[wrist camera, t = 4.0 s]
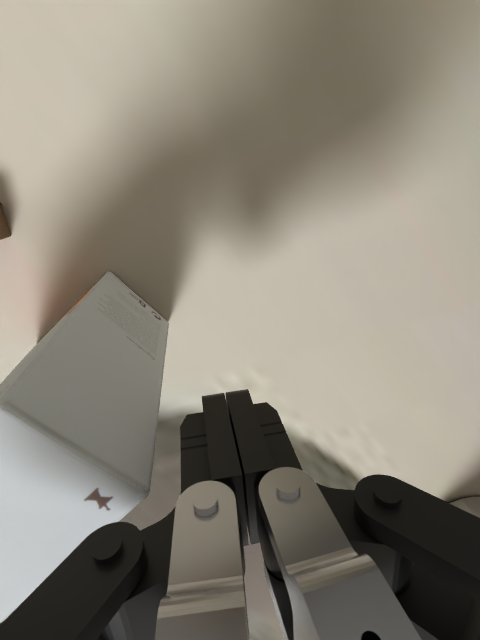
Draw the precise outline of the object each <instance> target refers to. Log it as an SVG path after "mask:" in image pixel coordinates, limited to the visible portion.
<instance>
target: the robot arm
mask: <svg viewBox="0 0 480 640" xmlns="http://www.w3.org/2000/svg"><path fill="white" fill-rule="evenodd" d="M202 403H203V412H202V413H195V414H189V415H187V416H186V417H185V419H184V421H183V423H182V424H181V426H180V435H181V495H180V497H179V498H178V500H177V503H176V506H175V508H174V509H173V510H172V512H171V513H169V514H168V515H167V516H166V517H165V518H163V519H162V520H160V521H159V522H157V523H155V524H153V525H151V526H149V527H147V528H145V529H143V530H141V531H140V530H139V529H138V528H137V527H136V526H134V525H133V524H130V523H127V522H114V523H110V524H107V525H104V526H102V527H100V528H98V529H97V530H95V531H94V532H92V533H91V534H90V535H89V536H87V537H86V538H85V539H84V540H83V541H82V542H81V543H80V544H79V545H78V546H77V547H76V548H75V549H74V550H73V551H72V552H71V553H70V555H69V556H68V557H67V558H66V559H65V560H64V561H63V562H62V563H61V564H60V565H59V566H58V567H57V568H56V569H55V570H54V571H53V572H52V573H51V574H50V575H49V576H48V577H47V578H46V579H45V580H44V581H43V582H42V583H41V584H40V585H39V586H38V587H37V588H36V589H35V590H34V591H33V592H32V593H31V594H30V595H29V596H28V597H27V598H26V599H25V600H24V601H23V602H22V603H21V604H20V605H19V606H18V607H17V608H16V609H15V610H14V611H13V612H12V613H11V614H10V615H9V616H8V617H7V618H6V619H5V620H4V621H3V622H2V623H1V624H0V640H250V639H249V628H248V617H247V606H246V595H245V585H244V575H245V558H244V548H243V546H246V545H248V534H247V527H248V532H249V537H250V542H251V544H255V543H260V545H261V549H262V553H263V558H264V572H265V576H266V580H267V583H268V586H269V590H270V593H271V596H272V600H273V603H274V606H275V610H276V613H277V616H278V620H279V623H280V626H281V630H282V633H283V636H284V640H480V497H469V498H464V499H460V500H457V501H454V502H451V503H447V502H445V501H443V500H441V499H439V498H437V497H435V496H433V495H431V494H429V493H427V492H424V491H422V490H420V489H418V488H416V487H414V486H412V485H410V484H408V483H406V482H403V481H401V480H399V479H397V478H394V477H391V476H387V475H371V476H367V477H365V478H363V479H362V480H360V481H359V482H358V484H357V485H356V488H355V490H344V489H334V488H329V487H325V486H322V485H320V484H318V483H316V482H315V481H314V479H313V478H312V477H311V476H310V475H309V474H308V473H306V472H304V471H303V470H302V468H301V465H300V463H299V461H298V459H297V456H296V454H295V452H294V449H293V447H292V445H291V442H290V440H289V438H288V435H287V433H286V431H285V428H284V426H283V424H282V421H281V419H280V417H279V415H278V412H277V410H275V409H274V408H273V407H272V406H270V405H269V404H268V403H267V402H265V403H258V404H253V402H252V399H251V396H250V394H249V391H248V389H246V390H240V391H233V392H226V399H225V395H224V393H220V394H214V395H207V396H202ZM246 522H247V523H246Z"/></svg>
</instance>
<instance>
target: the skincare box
mask: <svg viewBox="0 0 480 640" xmlns="http://www.w3.org/2000/svg"><path fill="white" fill-rule="evenodd" d="M168 326H169V323H168V321H166V320H165V319H164V318H163V317H162V316H161V315H159V314H158V313H157V312H156V311H155V310H154V309H153V308H151V307H150V306H149V305H148V304H147V303H146V302H145V301H143V300H142V299H141V298H140V297H139V296H138V295H136V294H135V293H134V292H133V291H132V290H131V289H130V288H129V287H127V286H126V285H125V284H124V283H123V282H122V281H121V280H119V279H118V278H117V277H116V276H115V275H114V274H113V273H111V272H109V271H108V272H106V273H105V274H104V275H103V277H102V278H101V279H100V280H99V281H98V282H97V283H96V284H95V285H94V286H93V287H92V288H91V289H90V290H89V291H88V292H87V293H86V294H85V295H84V296H83V297H82V298H81V299H80V300H79V301H78V302H77V303H76V304H75V305H74V306H73V307H72V308H71V309H70V310H69V311H68V312H67V313H66V314H65V315H64V316H63V317H62V318H61V319H60V320H59V322H58V323H57V324H56V325H55V326H54V327H53V328H52V329H51V330H50V331H49V332H48V333H47V334H46V335H45V336H44V337H43V338H42V339H41V340H40V341H39V342H38V344H37V345H36V346H35V347H34V348H33V349H32V350H31V351H30V352H29V353H28V354H27V355H26V356H25V358H24V359H23V360H22V361H21V362H20V363H19V364H18V365H17V366H16V367H15V368H14V370H13V371H12V372H11V373H10V374H9V375H8V376H7V377H6V378H5V380H4V381H3V382H2V383H1V384H0V623H1V622H3V621H4V620H5V619H6V618H7V617H8V616H9V615H10V614H11V613H12V612H13V611H14V610H15V609H16V608H17V607H18V606H19V605H20V604H21V603H22V602H23V601H24V600H25V599H26V598H27V597H28V596H29V595H30V594H31V593H32V592H33V591H34V590H35V589H36V588H37V587H38V586H39V585H40V584H41V583H42V582H43V581H44V580H45V579H46V578H47V577H48V576H49V575H50V574H51V573H52V572H53V571H54V570H55V569H56V568H57V567H58V566H59V565H60V564H61V563H62V562H63V561H64V560H65V559H66V558H67V557H68V556H69V555H70V553H71V552H72V551H73V550H74V549H75V548H76V547H77V546H78V545H79V544H80V543H81V542H82V541H83V540H84V539H85V538H86V537H87V536H89V535H90V534H91V533H92V532H94V531H95V530H97V529H98V528H100V527H102V526H104V525H107V524H110V523H114V522H118V521H120V520H121V519H122V518H123V517H124V516H125V515H126V514H128V513H129V512H130V511H131V510H132V509H133V508H134V507H135V506H137V505H138V504H139V503H140V502H141V501H142V500H143V499H145V498H146V497H147V495H148V494H149V491H150V485H151V477H152V469H153V459H154V451H155V442H156V432H157V423H158V413H159V405H160V396H161V387H162V379H163V369H164V361H165V352H166V344H167V335H168Z"/></svg>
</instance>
